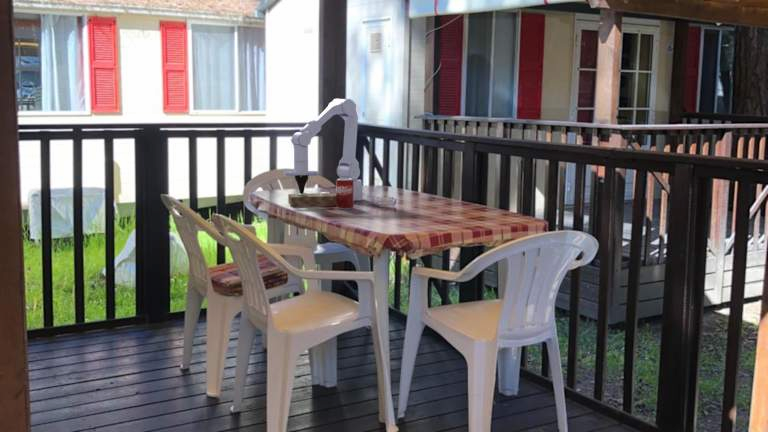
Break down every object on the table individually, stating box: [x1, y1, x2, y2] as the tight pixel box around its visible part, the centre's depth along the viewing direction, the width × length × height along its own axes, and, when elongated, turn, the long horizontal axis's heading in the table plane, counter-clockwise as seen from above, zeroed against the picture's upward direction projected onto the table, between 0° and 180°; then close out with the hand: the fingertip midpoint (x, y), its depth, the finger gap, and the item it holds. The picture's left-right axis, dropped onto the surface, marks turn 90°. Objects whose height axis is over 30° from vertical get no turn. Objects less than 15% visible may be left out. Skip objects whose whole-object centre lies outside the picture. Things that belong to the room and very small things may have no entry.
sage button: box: [296, 192, 308, 196], centre depth 347 cm, size 4×4×4 cm
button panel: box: [287, 192, 336, 208], centre depth 349 cm, size 20×10×4 cm, turn 104°
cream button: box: [319, 191, 331, 196], centre depth 350 cm, size 4×4×4 cm
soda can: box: [335, 177, 355, 210], centre depth 338 cm, size 7×7×12 cm
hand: (301, 193), depth 347 cm, fingers closed, pressing on sage button
